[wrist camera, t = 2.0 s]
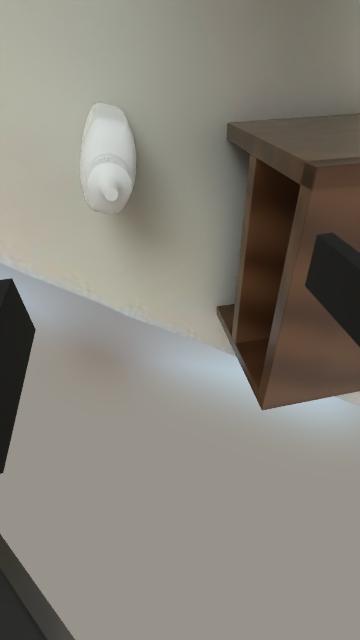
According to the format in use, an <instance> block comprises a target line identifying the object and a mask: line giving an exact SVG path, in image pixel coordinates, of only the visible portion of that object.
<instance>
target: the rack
mask: <svg viewBox="0 0 360 640" xmlns="http://www.w3.org/2000/svg"><path fill="white" fill-rule="evenodd" d="M227 139H228V140H229V141H231V142H232V143H234V144H236V145H237V146H239V147H240V148H242V149H244V150H245V151H247V152H248V153H250V161H249V170H248V180H247V190H246V200H245V210H244V220H243V230H242V240H241V250H240V260H239V270H238V280H237V290H236V299H235V304H233V305H226V306H219V307H217V316H218V318H219V320H220V322H221V324H222V326H223V328H224V331H225V333H226V335H227V337H228V339H229V341H230V343H231V345H232V347H233V350H234V352H235V354H236V356H237V358H238V360H239V362H240V364H241V367H242V369H243V371H244V373H245V375H246V377H247V379H248V381H249V384H250V386H251V388H252V390H253V392H254V394H255V396H256V398H257V401H258V403H259V405H260V407H261V409H262V410H266V409H271V408H276V407H281V406H286V405H291V404H296V403H302V402H307V401H311V400H317V399H322V398H327V397H332V396H337V395H342V394H347V393H352V392H358V391H360V347H359V346H358V345H357V344H356V343H355V342H354V340H353V339H352V338H351V337H350V336H349V335H348V334H347V333H346V331H345V330H344V329H343V328H342V327H341V326H340V325H339V324H338V323H337V321H336V320H335V319H334V318H333V317H332V316H331V315H330V314H329V312H328V311H327V310H326V309H325V308H324V307H323V306H322V305H321V304H320V302H319V301H318V300H317V299H316V298H315V297H314V296H313V295H312V293H311V292H310V291H309V290H308V289H307V288H306V287H305V282H306V278H307V274H308V270H309V266H310V261H311V257H312V253H313V249H314V245H315V240H316V236H317V235H318V234H325V233H332V232H333V233H334V234H336V235H337V236H338V237H339V238H341V239H342V240H343V241H345V242H346V243H347V244H349V245H350V246H351V247H353V248H354V249H355V250H357V251H358V252H359V253H360V114H350V115H335V116H320V117H306V118H291V119H276V120H261V121H246V122H231V123H228V125H227Z"/></svg>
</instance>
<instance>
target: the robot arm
mask: <svg viewBox="0 0 360 640" xmlns="http://www.w3.org/2000/svg"><path fill="white" fill-rule="evenodd" d="M305 287H306V288H307V289H308V290H309V291H310V292H311V293H312V295H313V296H314V297H315V298H316V299H317V300H318V301H319V302H320V304H321V305H322V306H323V307H324V308H325V309H326V310H327V311H328V312H329V314H330V315H331V316H332V317H333V318H334V319H335V320H336V321H337V323H338V324H339V325H340V326H341V327H342V328H343V329H344V330H345V331H346V333H347V334H348V335H349V336H350V337H351V338H352V339H353V340H354V342H355V343H356V344H357V345H358V346H359V347H360V253H359V252H358V251H357V250H355V249H354V248H353V247H351V246H350V245H349V244H347V243H346V242H345V241H343V240H342V239H341V238H339V237H338V236H337V235H336V234H334V233H333V232H332V233H325V234H318V235H317V236H316V240H315V245H314V249H313V253H312V257H311V261H310V266H309V270H308V274H307V278H306V282H305ZM34 334H35V328H34V325H33V323H32V321H31V319H30V317H29V314H28V312H27V310H26V308H25V306H24V304H23V302H22V299H21V297H20V295H19V293H18V290H17V288H16V286H15V284H14V282H13V280H12V279H4V280H0V474H1V473H3V471H4V467H5V462H6V457H7V453H8V449H9V445H10V440H11V436H12V431H13V427H14V423H15V418H16V414H17V409H18V405H19V400H20V396H21V392H22V387H23V383H24V378H25V374H26V369H27V365H28V361H29V356H30V352H31V347H32V343H33V338H34ZM0 640H75V639H74V638H73V636H72V635H71V633H70V632H69V631H68V629H67V628H66V626H65V625H64V623H63V622H62V621H61V619H60V618H59V616H58V615H57V614H56V612H55V611H54V609H53V608H52V607H51V605H50V604H49V602H48V601H47V600H46V598H45V597H44V595H43V594H42V593H41V591H40V590H39V588H38V587H37V585H36V584H35V582H34V581H33V580H32V578H31V577H30V575H29V574H28V573H27V571H26V570H25V568H24V567H23V566H22V564H21V563H20V561H19V560H18V558H17V557H16V556H15V554H14V553H13V551H12V550H11V549H10V547H9V546H8V544H7V543H6V542H5V540H4V539H3V538H2V536H1V534H0Z"/></svg>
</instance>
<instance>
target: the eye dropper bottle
mask: <svg viewBox="0 0 360 640" xmlns="http://www.w3.org/2000/svg"><path fill="white" fill-rule="evenodd" d="M135 177H136V149H135V143H134V138H133V134H132V131H131V128H130V125H129V123H128V121H127V119H126V117H125V115H124V113H123V111H122V110H121V109H120V108H118V107H115V106H112V105H107V104H103V103H96V104H95V105H93V107H92V108H91V110H90V113H89V115H88V118H87V121H86V124H85V128H84V134H83V140H82V147H81V154H80V179H81V185H82V189H83V193H84V196H85V199H86V201H87V203H88V205H89V207H90V208H91V209H92V210H94V211H96V212H101V213H108V214H116V213H119V212H120V211H121V210H122V209H123V208H124V206H125V205H126V203H127V201H128V199H129V198H130V196H131V192H132V189H133V186H134V182H135Z"/></svg>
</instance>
